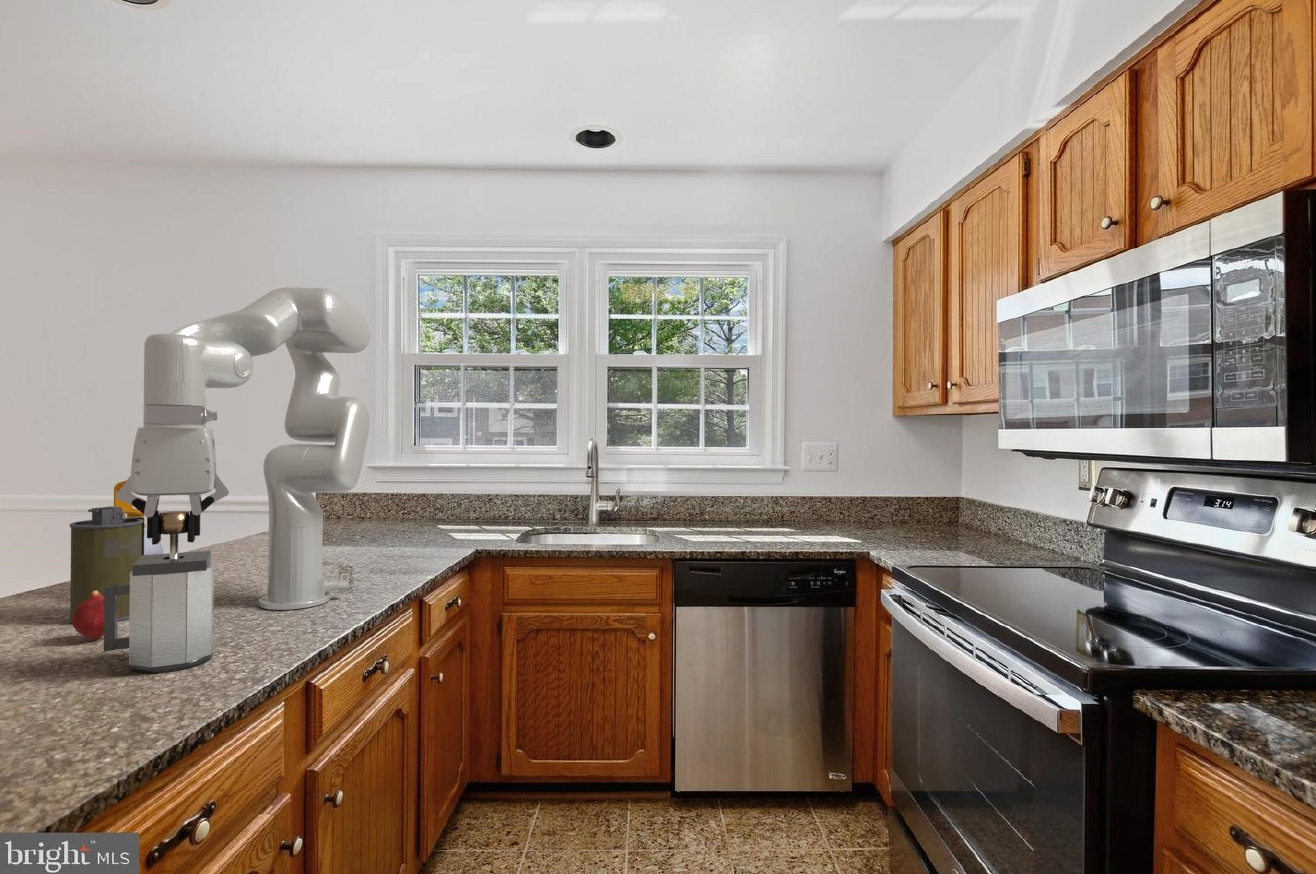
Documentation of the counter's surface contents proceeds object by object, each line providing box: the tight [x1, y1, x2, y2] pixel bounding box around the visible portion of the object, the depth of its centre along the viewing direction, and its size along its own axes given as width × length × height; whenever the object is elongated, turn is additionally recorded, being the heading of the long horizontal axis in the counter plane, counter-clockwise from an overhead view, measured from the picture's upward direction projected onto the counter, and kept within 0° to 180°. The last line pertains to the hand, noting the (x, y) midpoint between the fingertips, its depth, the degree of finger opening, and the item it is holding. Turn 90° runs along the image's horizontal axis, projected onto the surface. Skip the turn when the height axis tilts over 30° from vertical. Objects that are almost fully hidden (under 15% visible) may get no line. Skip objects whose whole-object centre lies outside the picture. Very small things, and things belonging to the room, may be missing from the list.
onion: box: [71, 591, 119, 641], centre depth 109 cm, size 6×6×8 cm
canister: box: [68, 506, 145, 624], centre depth 122 cm, size 11×10×20 cm
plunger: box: [159, 510, 190, 559], centre depth 100 cm, size 7×7×20 cm
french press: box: [103, 550, 215, 675], centre depth 99 cm, size 13×10×16 cm
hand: (174, 540), depth 100 cm, fingers closed on plunger, 3 cm apart
